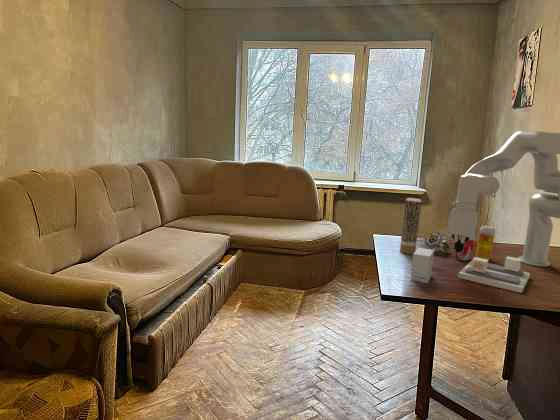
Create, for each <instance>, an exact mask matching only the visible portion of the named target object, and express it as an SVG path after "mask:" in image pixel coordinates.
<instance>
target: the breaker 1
mask: <svg viewBox="0 0 560 420" xmlns="http://www.w3.org/2000/svg"><path fill="white" fill-rule="evenodd" d="M471 259H472V260H471V261H472V265H471V270H473V271H477V272H482V273H485V272H486V271H487V266H488V263H489V260H487V259H482V258H477V257H476V256H474V257H473V258H471Z"/></svg>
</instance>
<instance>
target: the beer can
mask: <svg viewBox="0 0 560 420" xmlns="http://www.w3.org/2000/svg"><path fill="white" fill-rule="evenodd" d="M495 233H496V229H495V227H494V226H491V225H481V227H480V229H479V233H478V240H477V245H476V246H477V247H476V254H475V257H477V258H482V259H487V260H488V261H490V260H491V257H492V251H493V246H494V240H495Z"/></svg>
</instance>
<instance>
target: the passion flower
mask: <svg viewBox="0 0 560 420" xmlns="http://www.w3.org/2000/svg"><path fill="white" fill-rule="evenodd" d="M441 233H442V230H438V231H435V232H430V233H428V235H426V236H427V237H424V239H423V240H421V241H420V242H421V244H425V245H426V246H425V249H431V250H434V252H436V251H437V250H438V249H439V250H441V247H442V249H443V251H444V252H443V253H444V255H448V252H451V251H452V250H451V247H450V245H449V244H448V243H447V242H448V240H446V239H447V237H448V235H442V234H441ZM449 242H450V244H451V246H452V245H453V242H452V240H451V239H450V240H449Z"/></svg>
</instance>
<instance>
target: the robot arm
mask: <svg viewBox="0 0 560 420" xmlns="http://www.w3.org/2000/svg"><path fill="white" fill-rule="evenodd" d="M525 154H530V155H531V156H532V158H533V165H534V167H533V169H534V170H533V185H534V188H535V189H536V190H538V191H540V192H541V193H535V194H534V195H532V196H531V197H530V198H529V202H528V209H529V210H528V223H527V229H526V234H525V240H524V244H523V245H524V246H523V249H522V255H520V256H518V257H517V258H518V259H521V263H522V264H526V265H530V266H536V267H541V268H543V267H546V268H547V267H550V265H551V262H550V261H549V260H547V259H548V255H549V249H550V246H551V244H550V243H551V240H552V234H553V228H554V224H553V221H552V218H555V219H559V220H560V170H559V168H558V160H559V159H558V156H559V155H560V133H559V132H547V131H537V130H536V131H535V130H533V131H532V130H520V131H519V130H518V131H516V132H514V133H513V134H512V135H510V137H509V138H508V139H507V140H506V142H505V143H504V144H503V145H502V146H501V147H500V148H499V149H498V150H497V151H496V153H494V154H491V155H489V156H487V157H485V158H484V159H481V160H479V161H477V162H476V163H475V164H473V165H472V166H471V167H470V168H469V169H468V170H467V171H466V172H465V173H464V174H461V175H460V177H459V179H458V186H457V192H456V198H455V199H456V200H455V201H451V206H454V207H453V208H452V209H451V212H450V215H449V217H448V223H447V226H446V234H445V235H446V236H449V237H451V238H452V239H453V240H454V253H455V252H458V253H460V252H461V251H463V247H464V242H466V241H468V240H474V241H475V240H476V239H477V237H476V234H477V230H478V229H477V228H478V211H477V205H478V204H477V203H478V199H479V195H484V196H492V195H495V194H496V193H497V192H498V191H499V189H500V187H501V186H500V181H499V180H498V178H496V177H495V176H492V175H489V174H492V173H497V172H502V171H507V170H510V169H512V168H514V167H515V166H516V165H517V163H518V162H519V161H520V160H521V159H522V158H524V156H525ZM544 192H545V193H544ZM550 193H551V194H550ZM556 194H557V195H556ZM459 235H460V236H462V239H461V241H460V240H459ZM455 249H456V250H455Z"/></svg>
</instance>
